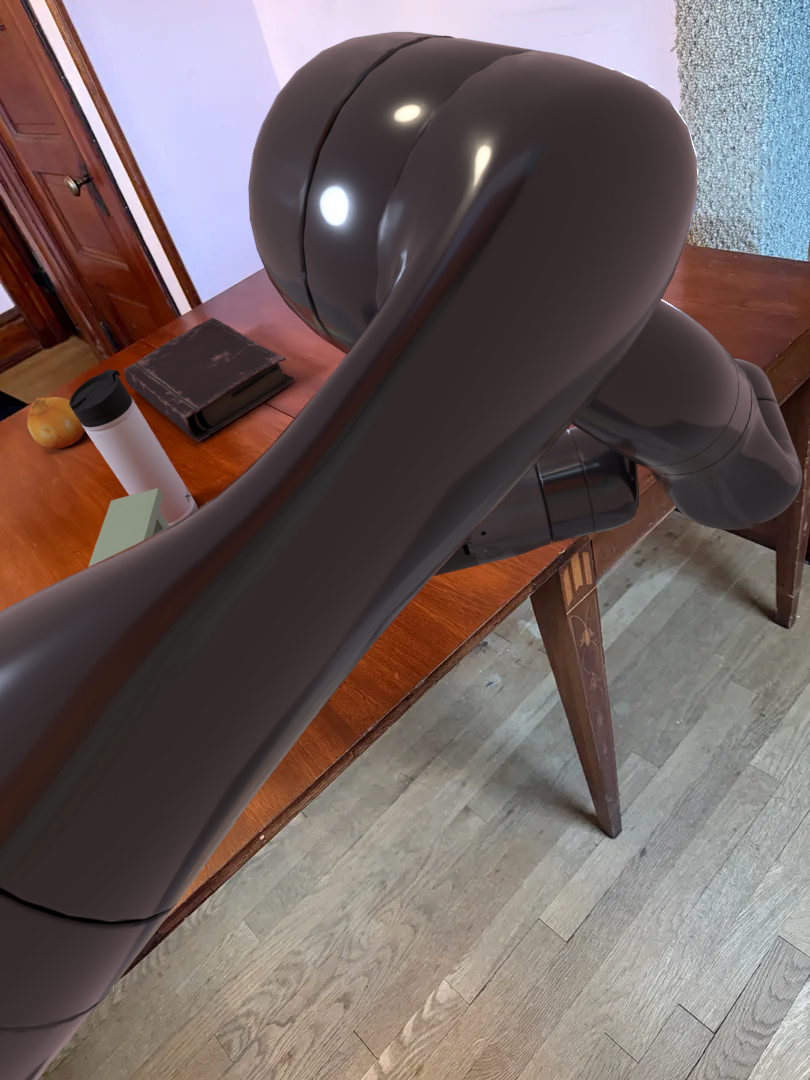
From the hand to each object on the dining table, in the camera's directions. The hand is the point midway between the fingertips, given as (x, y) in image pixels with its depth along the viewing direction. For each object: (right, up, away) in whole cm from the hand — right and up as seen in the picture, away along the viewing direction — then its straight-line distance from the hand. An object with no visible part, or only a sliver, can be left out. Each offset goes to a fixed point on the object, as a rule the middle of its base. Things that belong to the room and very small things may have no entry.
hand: (223, 570), depth 51 cm
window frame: (-8, -13, +21) cm, 26 cm away
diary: (-18, +26, +67) cm, 74 cm away
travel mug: (-17, +5, +44) cm, 47 cm away
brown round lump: (-41, +18, +67) cm, 81 cm away
